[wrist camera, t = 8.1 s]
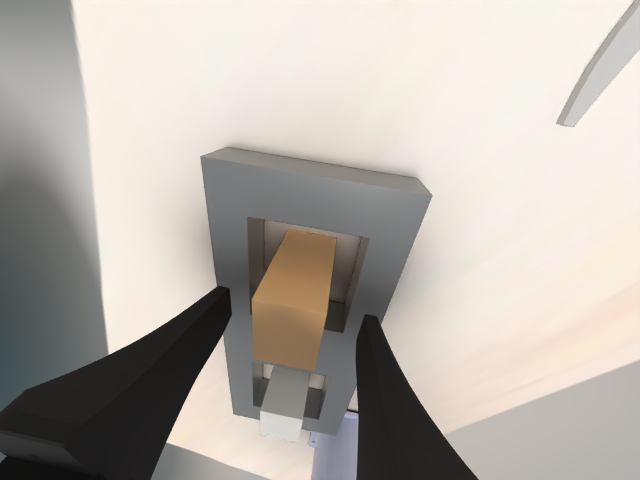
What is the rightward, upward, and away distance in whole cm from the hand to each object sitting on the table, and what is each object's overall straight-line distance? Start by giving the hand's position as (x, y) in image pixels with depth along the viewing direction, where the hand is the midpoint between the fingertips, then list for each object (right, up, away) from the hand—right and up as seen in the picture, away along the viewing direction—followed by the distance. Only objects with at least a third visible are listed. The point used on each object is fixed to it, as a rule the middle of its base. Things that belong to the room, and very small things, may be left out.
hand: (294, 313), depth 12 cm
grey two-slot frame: (0, -2, +6) cm, 6 cm away
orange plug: (+1, +3, +3) cm, 4 cm away
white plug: (-1, -7, +9) cm, 12 cm away
